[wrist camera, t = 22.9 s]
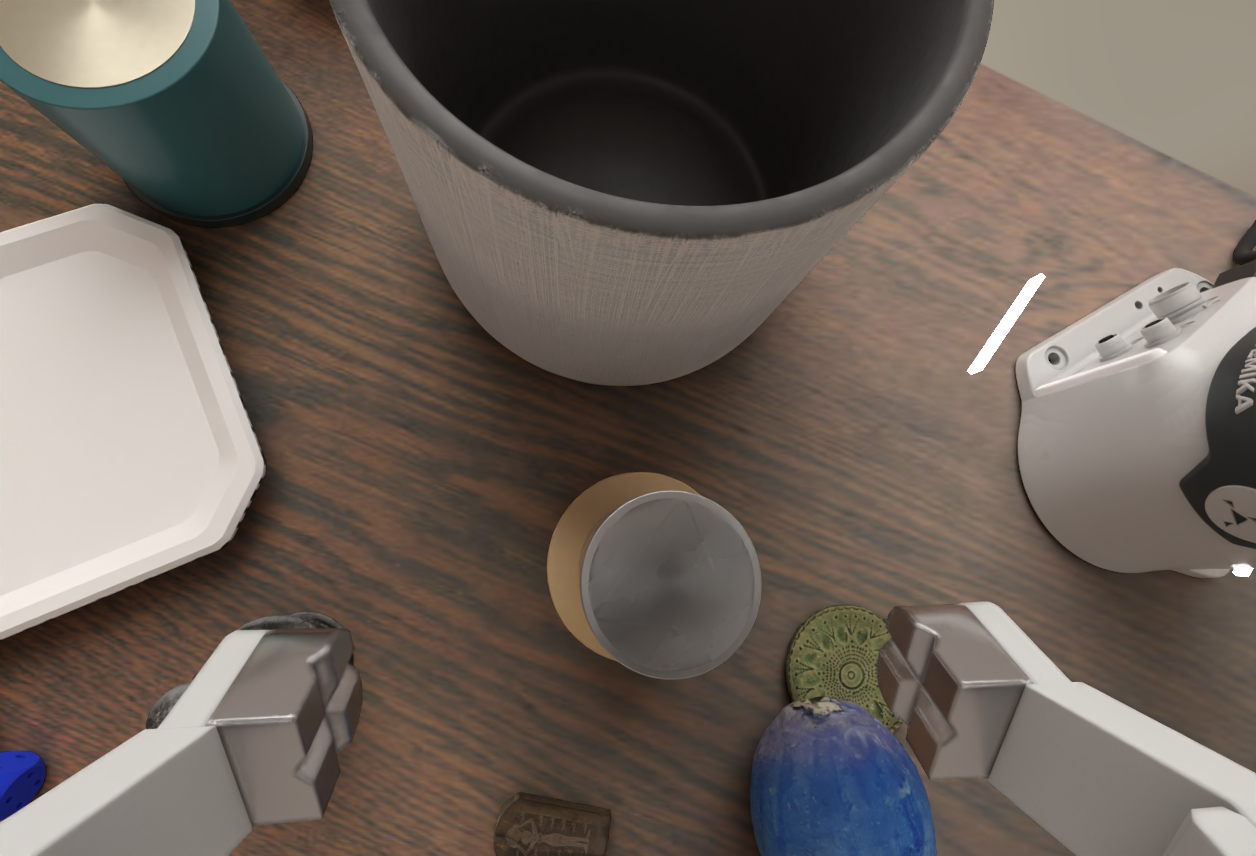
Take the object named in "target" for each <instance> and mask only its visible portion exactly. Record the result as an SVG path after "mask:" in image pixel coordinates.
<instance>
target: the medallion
mask: <svg viewBox="0 0 1256 856" xmlns="http://www.w3.org/2000/svg"><path fill="white" fill-rule="evenodd" d="M886 622H887V620H886V619H884V618H882V617H881V616H880V615H877V614H875V613H873V612H871V611H869V610H867V609H864V608H862V607H859V606H850V605H835V606H831V607H827V608H825V609H823V610H821V611H817V612H816V613H814V614H813V615H811V616H810V617H809V618H808V619H807V620H806V621H805V622H804V623H802V624H801V626H800V627H799V628H798V629H797V631H796V633H795V635H794V637H793V640H792V641H791V644H790V648H789V649H788V655H787V660H786V680H787V685H788V691H789V694H790V696H791V699H792V703H793V702H796V701H801V700H805V699H810V698H813V697H820V696H827V697H831V698H835V699H840V700H845V701H849V702H853V703H855V704H857V705H859V706H861V707H862V708H864V709H866V710H868V712H869V713H870V714H871V715H872V716H873V717H875V718H876V719H878V720H879V721H880V722H881V723H882V724H883V725H884V726H885V727H886V728H887V729H888V730H889V731H890V732H891V733H894V731H893V730H896V729H897V728H898V727H900V724H899V723H901V724H902V722H903V721H902V720H901V719H899V718H898V717H896V716H895V715H894V714H892V713H891V712H890V710H889V708H888V706H887V705H886V703H885V701H884V699H883V697H882V694H881V691H880V688H879V685H878V679H877V670H876V664H877V659H878V654H879V649H880V648H881V647H882V646H883V645H884V644H885V643H886V642H887V641H888V640H890V639H891V638H892V637H891V635H890V634H889V632H888V630H887V629H886V627H885V626H886Z"/></svg>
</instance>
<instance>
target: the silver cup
mask: <svg viewBox="0 0 1256 856" xmlns="http://www.w3.org/2000/svg"><path fill="white" fill-rule="evenodd" d="M579 579H580V595H581V601H582V606H583V610H584V613H585V616H586V619H587V622H588V624H589V626H590V628H591V631H592V632H593V634H594V636H595V637H596V639H597V640H598V642H599V643H600V644H601V646H602V647H603V648H604V649H605V650H606V652H607V653H609V654H610V655H611V656H612V657H613V658H614V659H615V660H616V661H618V662H619V663H621V664H622V665H623V666H625V667H626V668H628V669H630V670H632V671H634V672H636V673H639V674H642V675H645V676H648V677H652V678H657V679H667V680H676V679H686V678H690V677H694V676H698V675H701V674H703V673H706V672H708V671H710V670H712V669H714V668H716V667H717V666H719V665H720V664H722V663H723V662H724V661H726V660H727V659H729V658H730V657H731V656H732V655H733V654H734V653H735V652H736V651H737V650H738V648H739V647H740V646H741V645H742V643H743V642H744V641H745V639H746V638H747V636H748V634H749V633H750V631H751V629H752V627H753V624H754V622H755V620H756V617H757V614H758V610H759V607H760V601H761V594H762V578H761V569H760V564H759V560H758V556H757V553H756V550H755V548H754V545H753V543H752V541H751V539H750V537H749V536H748V534H747V532H746V531H745V529H744V528H743V526H742V525H741V524H740V523H739V522H738V521H737V519H736V518H735V517H734V516H733V515H732V514H731V513H729V512H728V511H727V510H726V509H725V508H723V507H722V506H720V505H719V504H717V503H716V502H714V501H712V500H710V499H708V498H706V497H704V496H701V495H698V494H695V493H691V492H686V491H678V490H663V491H656V492H651V493H647V494H644V495H641V496H638V497H635V498H633V499H631V500H629V501H627V502H625V503H624V504H622V505H621V506H619V507H618V508H616V509H615V510H614V511H612V512H610V513H609V514H607V515H605V516H604V517H603V518H602V519H601V520H599V521H598V522H597V523H596V525H595V526H594V527H593V528H592V529H591V531H590V532H589V534H588V535H587V537H586V539H585V541H584V544H583V546H582V549H581V553H580V558H579Z"/></svg>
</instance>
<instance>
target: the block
mask: <svg viewBox="0 0 1256 856" xmlns="http://www.w3.org/2000/svg"><path fill="white" fill-rule="evenodd" d="M610 822H611V811H610V809H604V808H600V807H594V806H589V805H584V804H578V803H573V802H568V801H563V800H559V799H553V798H548V797H543V796H538V795H533V794H528V793H522V792H520V793H517V794H516V795H514V796H513V797H512V798H510V799H509V800H508V801H507V802H506V803H505V804H504V806H503V807H502V808H501V810H500V813H499V815H498V818H497V822H496V826H495V832H494V850H495V854H496V856H605V851H606V846H607V842H608V838H609V829H610Z"/></svg>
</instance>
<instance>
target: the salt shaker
mask: <svg viewBox="0 0 1256 856" xmlns="http://www.w3.org/2000/svg"><path fill="white" fill-rule="evenodd" d="M305 628H343V627H342V626H341V625H340V624H339V623H338V622H336V621H335V620H334V619H332V618H330V617H328V616H326V615H324V614H321V613H315V612H299V613H294V614H291V615H289V616H285V615H278V616H267V617H263V618H260V619H257V620H254V621H252V622H249V623H247V624H246V625H244V626H242V627H241V628H239V629H238V630H272V629H305ZM348 663H349V664H350V665H352V666H353V653H352V656H351V658H350V660H349V662H348ZM198 673H199V672H198ZM198 673H197V674H198ZM197 674H196V675H197ZM196 675H195V676H194V677H193V679H194V678H195V677H196ZM193 679H192V680H191V681H189V682H187V683H184V684H182V685H180V686H177V687H175V688H173V689H172V690H170V691H169V692H167V693H166V694H165V695H163V696H162V697H161V698H160V699H159V700H158V701H157V702H156V703H155V704H154V706H153V708H152V709H151V711H150V713H149V716H148V719H147V722H146V729H157V728H158V727H159V725H160V724H161V723H162V721H163V720H164V719H165V717H166V716H167V715H168V713H169V712H170V711H171V709H172V708H173V706H174V705H175V704H176V702H177V701H178V700H179V698H180V697H181V696H182V694H183V693H184V692H185V690H186V689H187V688H188V686H189V685H190V683H191V682H192V681H193Z"/></svg>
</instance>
